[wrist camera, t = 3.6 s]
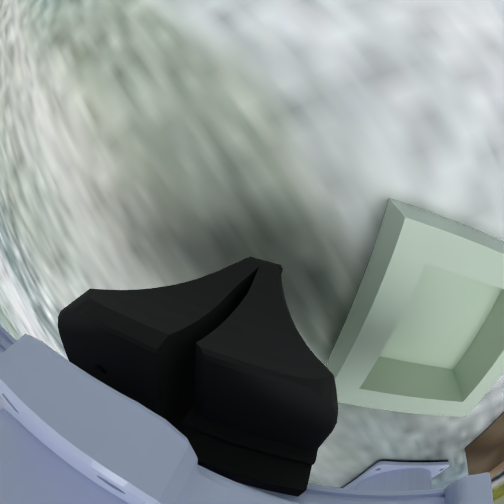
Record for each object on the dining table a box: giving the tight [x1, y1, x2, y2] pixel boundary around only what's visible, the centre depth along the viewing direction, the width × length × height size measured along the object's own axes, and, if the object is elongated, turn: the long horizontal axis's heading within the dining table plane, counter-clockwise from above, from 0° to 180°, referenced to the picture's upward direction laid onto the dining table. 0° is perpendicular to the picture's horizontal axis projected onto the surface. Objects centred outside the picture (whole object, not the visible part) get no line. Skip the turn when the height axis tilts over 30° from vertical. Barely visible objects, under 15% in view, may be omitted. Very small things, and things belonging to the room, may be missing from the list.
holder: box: [327, 198, 504, 417], centre depth 10 cm, size 8×8×3 cm
